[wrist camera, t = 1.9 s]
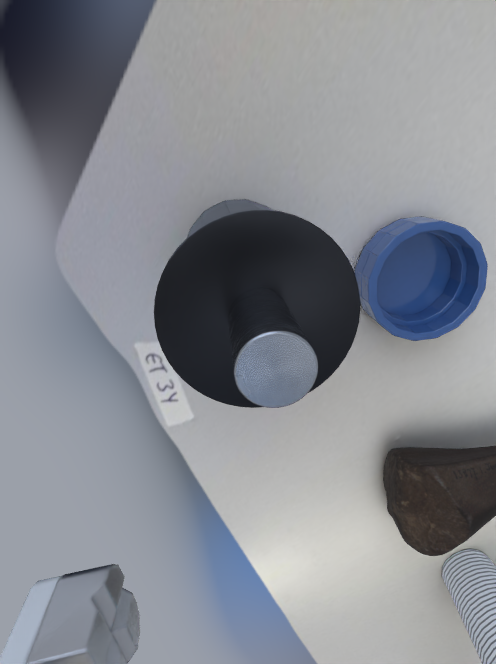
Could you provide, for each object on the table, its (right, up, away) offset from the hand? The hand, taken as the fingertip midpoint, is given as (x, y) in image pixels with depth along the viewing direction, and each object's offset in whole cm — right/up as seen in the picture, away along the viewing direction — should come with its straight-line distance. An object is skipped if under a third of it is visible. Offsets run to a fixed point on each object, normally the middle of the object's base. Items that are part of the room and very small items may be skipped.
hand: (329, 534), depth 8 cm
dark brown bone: (+25, -7, +37) cm, 45 cm away
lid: (-1, +5, +13) cm, 14 cm away
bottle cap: (+13, +9, +30) cm, 34 cm away
